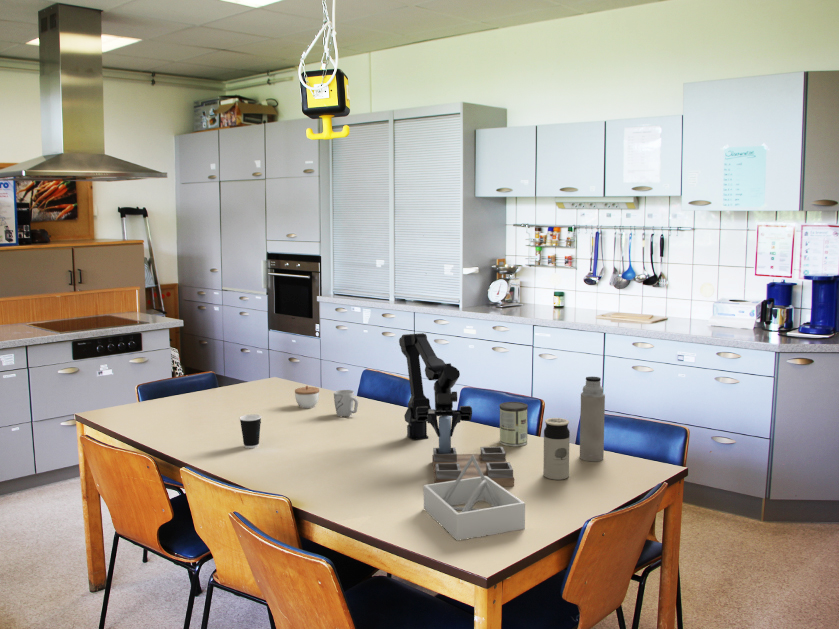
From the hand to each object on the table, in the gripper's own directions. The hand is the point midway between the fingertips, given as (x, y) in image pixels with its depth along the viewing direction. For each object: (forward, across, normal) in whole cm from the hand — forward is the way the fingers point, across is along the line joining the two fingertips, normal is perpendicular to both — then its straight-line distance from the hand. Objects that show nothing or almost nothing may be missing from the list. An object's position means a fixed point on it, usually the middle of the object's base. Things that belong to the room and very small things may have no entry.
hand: (445, 436), depth 237 cm
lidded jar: (-52, -56, +67) cm, 102 cm away
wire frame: (+37, +4, -22) cm, 43 cm away
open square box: (+38, +5, -23) cm, 44 cm away
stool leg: (+4, 0, +6) cm, 7 cm away
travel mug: (+15, +35, 0) cm, 38 cm away
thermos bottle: (+3, +51, +12) cm, 52 cm away
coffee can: (-11, +27, +26) cm, 39 cm away
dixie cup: (-11, -69, +26) cm, 75 cm away
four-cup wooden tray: (+12, +8, +3) cm, 15 cm away
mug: (-40, -37, +56) cm, 78 cm away
